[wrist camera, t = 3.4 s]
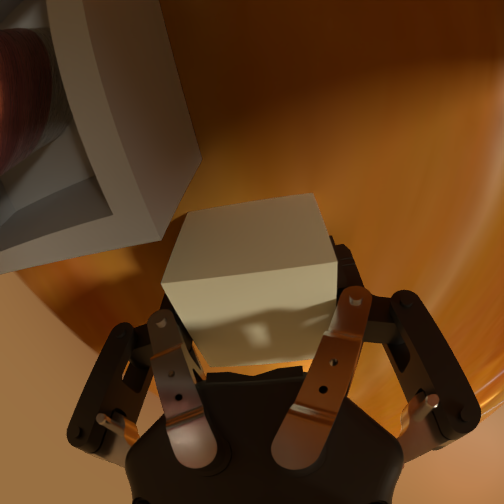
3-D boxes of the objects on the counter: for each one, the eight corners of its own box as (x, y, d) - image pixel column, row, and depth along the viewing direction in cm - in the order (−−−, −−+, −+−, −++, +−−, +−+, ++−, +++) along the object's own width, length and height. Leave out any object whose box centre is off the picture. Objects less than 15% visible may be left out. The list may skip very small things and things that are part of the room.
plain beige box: (312, 191, 12) (337, 261, 9) (317, 283, 16) (332, 355, 12) (188, 211, 13) (160, 283, 9) (219, 295, 17) (210, 367, 13)
